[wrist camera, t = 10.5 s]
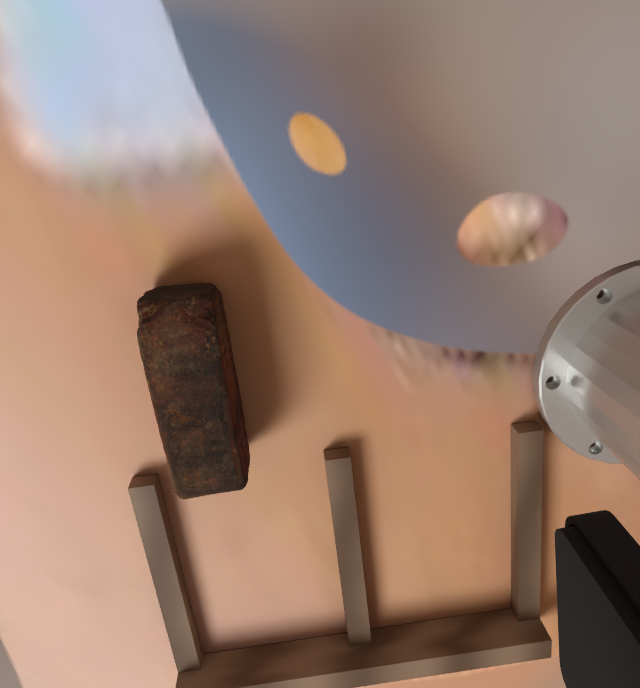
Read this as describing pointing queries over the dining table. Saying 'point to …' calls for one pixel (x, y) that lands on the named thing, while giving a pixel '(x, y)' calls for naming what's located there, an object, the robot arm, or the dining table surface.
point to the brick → (194, 388)
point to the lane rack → (362, 600)
